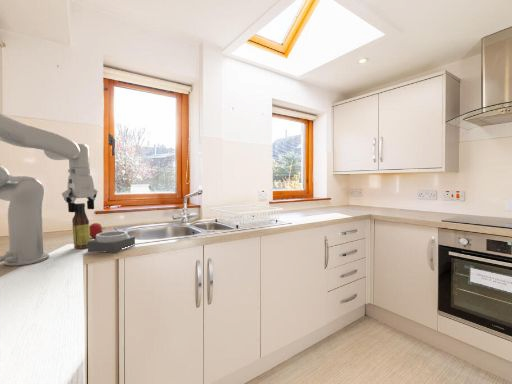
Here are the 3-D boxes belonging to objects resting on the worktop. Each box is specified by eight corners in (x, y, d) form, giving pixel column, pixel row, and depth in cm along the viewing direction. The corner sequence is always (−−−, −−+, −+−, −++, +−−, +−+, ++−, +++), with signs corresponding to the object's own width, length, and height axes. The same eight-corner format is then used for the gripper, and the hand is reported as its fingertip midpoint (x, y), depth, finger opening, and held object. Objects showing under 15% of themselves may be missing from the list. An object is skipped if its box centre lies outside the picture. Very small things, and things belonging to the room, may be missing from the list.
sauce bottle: (93, 245, 119) (92, 202, 118) (83, 249, 113) (82, 204, 112) (80, 245, 120) (79, 202, 119) (69, 249, 113) (68, 204, 112)
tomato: (85, 222, 132) (102, 218, 136) (88, 229, 138) (104, 225, 142) (88, 235, 129) (105, 231, 133) (91, 242, 135) (107, 238, 139)
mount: (114, 252, 108) (114, 237, 107) (87, 251, 110) (87, 236, 110) (134, 245, 121) (134, 231, 120) (110, 243, 123) (110, 230, 123)
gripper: (69, 172, 106) (71, 213, 107) (102, 172, 122) (104, 208, 124) (54, 172, 107) (56, 213, 108) (88, 172, 124) (90, 207, 125)
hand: (81, 210), depth 116 cm, fingers open, 9 cm apart
